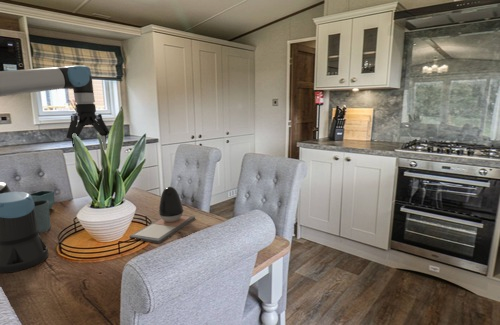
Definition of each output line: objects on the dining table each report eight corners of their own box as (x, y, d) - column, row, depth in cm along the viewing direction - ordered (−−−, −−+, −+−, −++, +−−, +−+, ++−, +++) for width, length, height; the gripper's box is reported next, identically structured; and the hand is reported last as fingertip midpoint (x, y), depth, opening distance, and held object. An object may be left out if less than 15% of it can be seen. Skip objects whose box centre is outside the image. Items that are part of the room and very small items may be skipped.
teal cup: (38, 235, 126) (33, 207, 124) (18, 234, 128) (13, 206, 126) (58, 225, 136) (54, 199, 134) (39, 224, 138) (34, 199, 136)
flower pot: (28, 212, 155) (25, 195, 154) (44, 206, 164) (41, 190, 162) (41, 213, 153) (38, 196, 151) (57, 207, 161) (54, 191, 159)
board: (159, 243, 116) (158, 240, 116) (129, 238, 121) (129, 235, 120) (194, 218, 140) (194, 216, 139) (169, 215, 145) (168, 213, 144)
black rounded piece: (159, 225, 129) (155, 191, 126) (160, 217, 139) (158, 184, 136) (183, 223, 131) (181, 189, 128) (183, 214, 141) (181, 183, 138)
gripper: (101, 103, 144) (107, 147, 148) (51, 104, 121) (59, 156, 126) (114, 102, 142) (119, 148, 146) (65, 103, 119) (72, 157, 123)
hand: (91, 152), depth 136 cm, fingers open, 13 cm apart
